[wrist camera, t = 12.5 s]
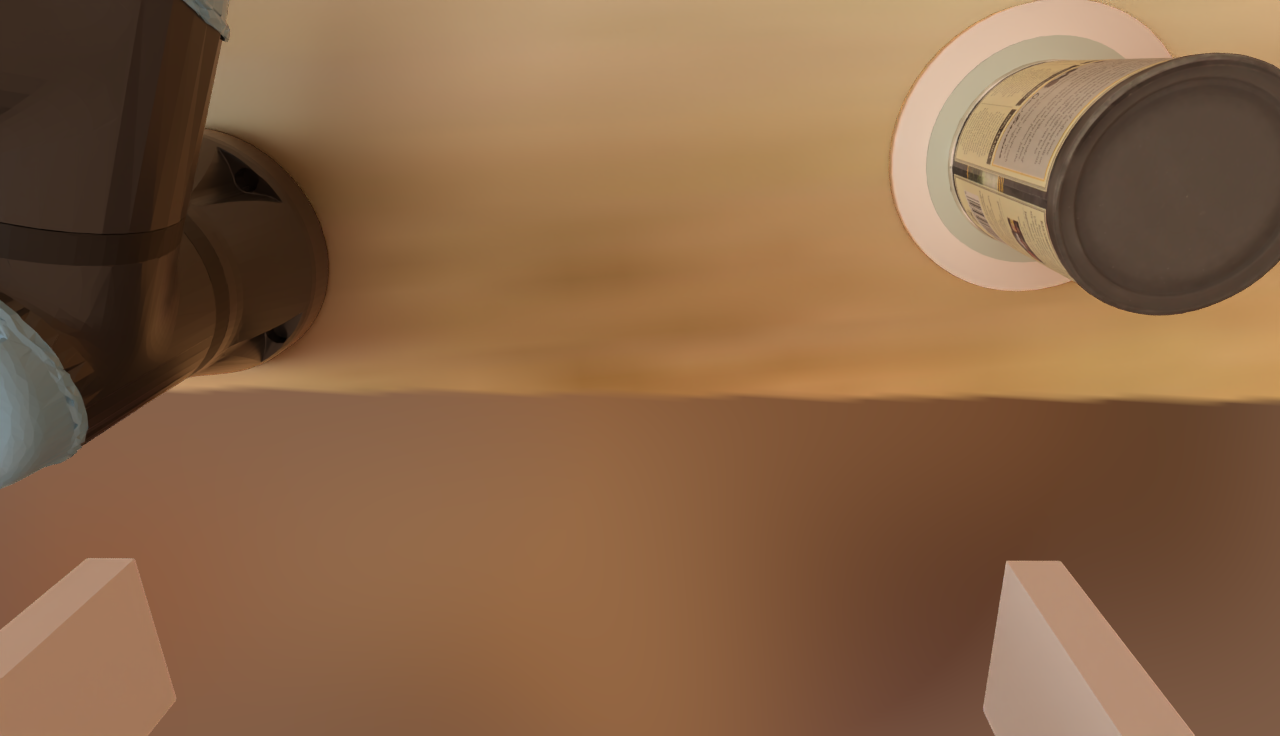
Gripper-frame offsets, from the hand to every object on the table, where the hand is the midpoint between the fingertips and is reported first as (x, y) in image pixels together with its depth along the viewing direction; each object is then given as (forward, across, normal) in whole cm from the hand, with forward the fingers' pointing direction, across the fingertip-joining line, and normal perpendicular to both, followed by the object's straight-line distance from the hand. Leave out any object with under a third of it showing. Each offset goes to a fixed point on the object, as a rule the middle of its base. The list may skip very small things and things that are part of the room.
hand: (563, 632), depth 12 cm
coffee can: (+37, +22, +3) cm, 43 cm away
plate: (+39, +22, +3) cm, 45 cm away
